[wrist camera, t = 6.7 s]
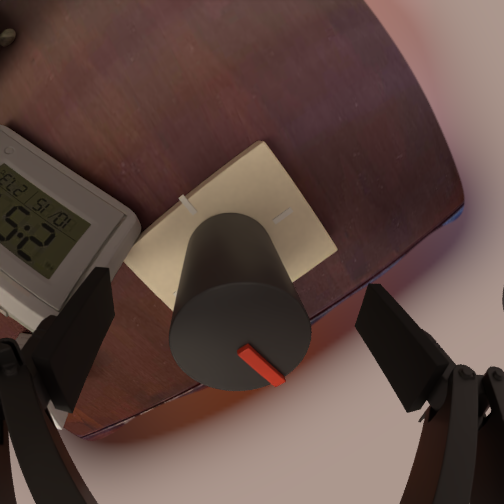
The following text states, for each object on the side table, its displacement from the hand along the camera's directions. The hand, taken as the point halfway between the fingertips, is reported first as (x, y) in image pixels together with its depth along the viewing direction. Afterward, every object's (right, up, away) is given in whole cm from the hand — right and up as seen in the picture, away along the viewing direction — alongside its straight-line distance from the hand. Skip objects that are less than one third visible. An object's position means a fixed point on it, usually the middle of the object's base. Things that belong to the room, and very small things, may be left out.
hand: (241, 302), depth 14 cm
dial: (-1, +2, +5) cm, 6 cm away
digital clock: (-15, +7, +4) cm, 17 cm away
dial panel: (-1, +3, +7) cm, 8 cm away
